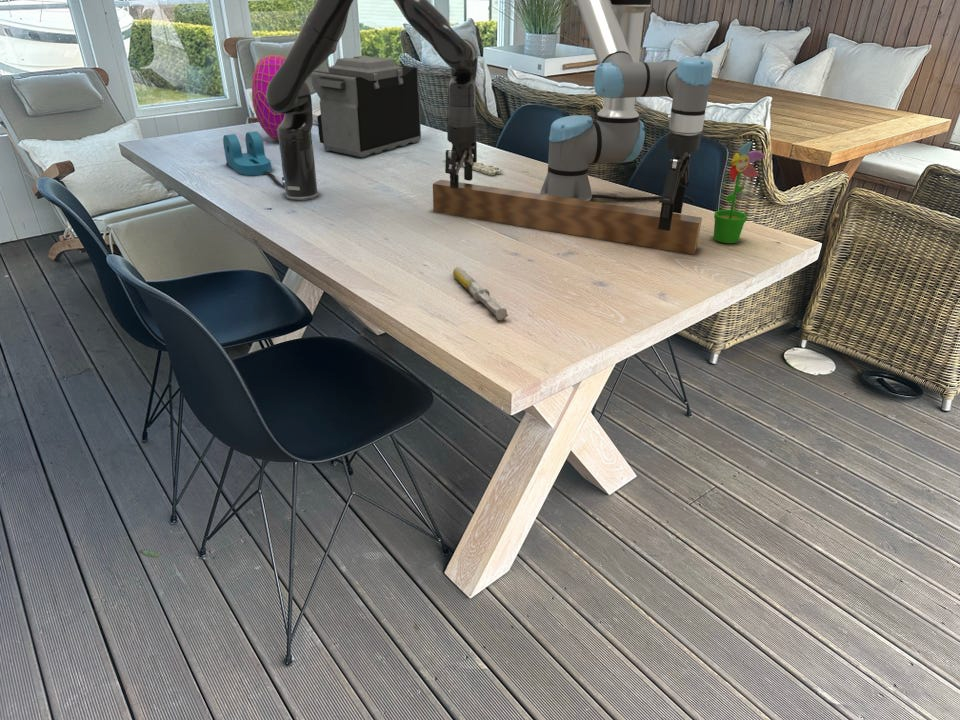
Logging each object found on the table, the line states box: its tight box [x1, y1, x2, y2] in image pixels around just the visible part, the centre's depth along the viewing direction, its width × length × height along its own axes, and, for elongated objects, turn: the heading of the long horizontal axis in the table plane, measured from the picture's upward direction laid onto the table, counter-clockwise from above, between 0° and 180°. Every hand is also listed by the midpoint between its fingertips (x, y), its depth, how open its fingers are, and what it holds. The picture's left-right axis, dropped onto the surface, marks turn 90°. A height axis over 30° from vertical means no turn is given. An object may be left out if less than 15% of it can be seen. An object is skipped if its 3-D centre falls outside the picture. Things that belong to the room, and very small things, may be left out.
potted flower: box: [713, 141, 766, 244], centre depth 170 cm, size 9×8×25 cm
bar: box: [432, 179, 703, 255], centre depth 180 cm, size 72×5×8 cm, turn 65°
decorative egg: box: [251, 54, 286, 141], centre depth 257 cm, size 19×19×30 cm
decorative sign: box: [449, 161, 501, 176], centre depth 234 cm, size 26×1×10 cm
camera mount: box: [222, 131, 272, 176], centre depth 226 cm, size 18×10×10 cm, turn 35°
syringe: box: [452, 266, 509, 321], centre depth 145 cm, size 25×4×3 cm, turn 21°
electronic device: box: [310, 55, 422, 159], centre depth 250 cm, size 37×22×30 cm, turn 144°
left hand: (461, 184), depth 188 cm, fingers open, 8 cm apart
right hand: (669, 220), depth 168 cm, fingers open, 13 cm apart
